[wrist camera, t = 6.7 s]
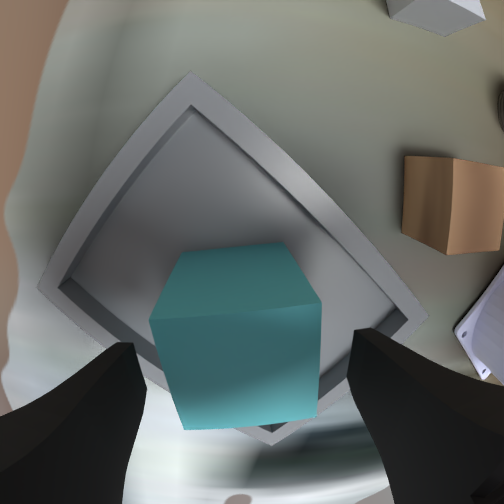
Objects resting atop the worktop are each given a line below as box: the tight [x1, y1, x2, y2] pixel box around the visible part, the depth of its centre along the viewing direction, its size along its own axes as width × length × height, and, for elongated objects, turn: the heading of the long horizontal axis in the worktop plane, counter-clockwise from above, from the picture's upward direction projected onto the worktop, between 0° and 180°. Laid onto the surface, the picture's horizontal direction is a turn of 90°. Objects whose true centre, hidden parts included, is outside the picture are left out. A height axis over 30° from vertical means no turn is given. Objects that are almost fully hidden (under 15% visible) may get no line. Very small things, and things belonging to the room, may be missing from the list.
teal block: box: [148, 242, 322, 430], centre depth 11 cm, size 4×4×6 cm
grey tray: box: [37, 71, 429, 446], centre depth 13 cm, size 16×12×2 cm
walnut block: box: [401, 156, 504, 255], centre depth 12 cm, size 4×4×4 cm
